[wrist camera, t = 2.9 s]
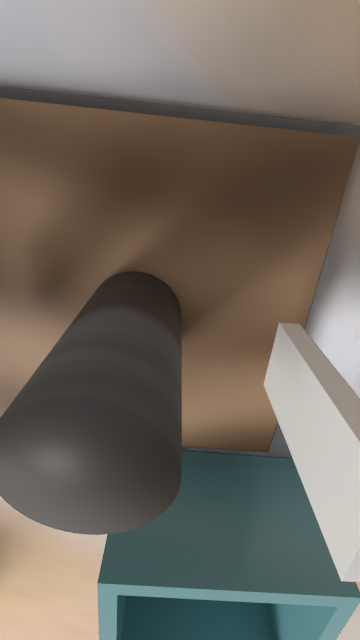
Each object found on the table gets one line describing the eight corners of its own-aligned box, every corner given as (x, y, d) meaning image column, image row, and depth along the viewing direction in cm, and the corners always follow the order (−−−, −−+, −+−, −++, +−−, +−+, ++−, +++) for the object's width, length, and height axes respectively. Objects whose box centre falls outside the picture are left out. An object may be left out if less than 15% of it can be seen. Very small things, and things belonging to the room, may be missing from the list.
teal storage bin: (125, 446, 19) (97, 583, 13) (302, 459, 19) (362, 597, 13) (122, 553, 24) (101, 693, 17) (265, 562, 24) (296, 701, 18)
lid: (-63, 95, 11) (-730, -126, 3) (345, 140, 12) (730, 55, 4) (-1, 418, 17) (-162, 633, 9) (263, 438, 18) (333, 657, 10)
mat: (-70, 81, 11) (-81, 77, 11) (356, 128, 12) (363, 126, 12) (-4, 418, 18) (-9, 425, 18) (268, 438, 19) (270, 445, 18)
